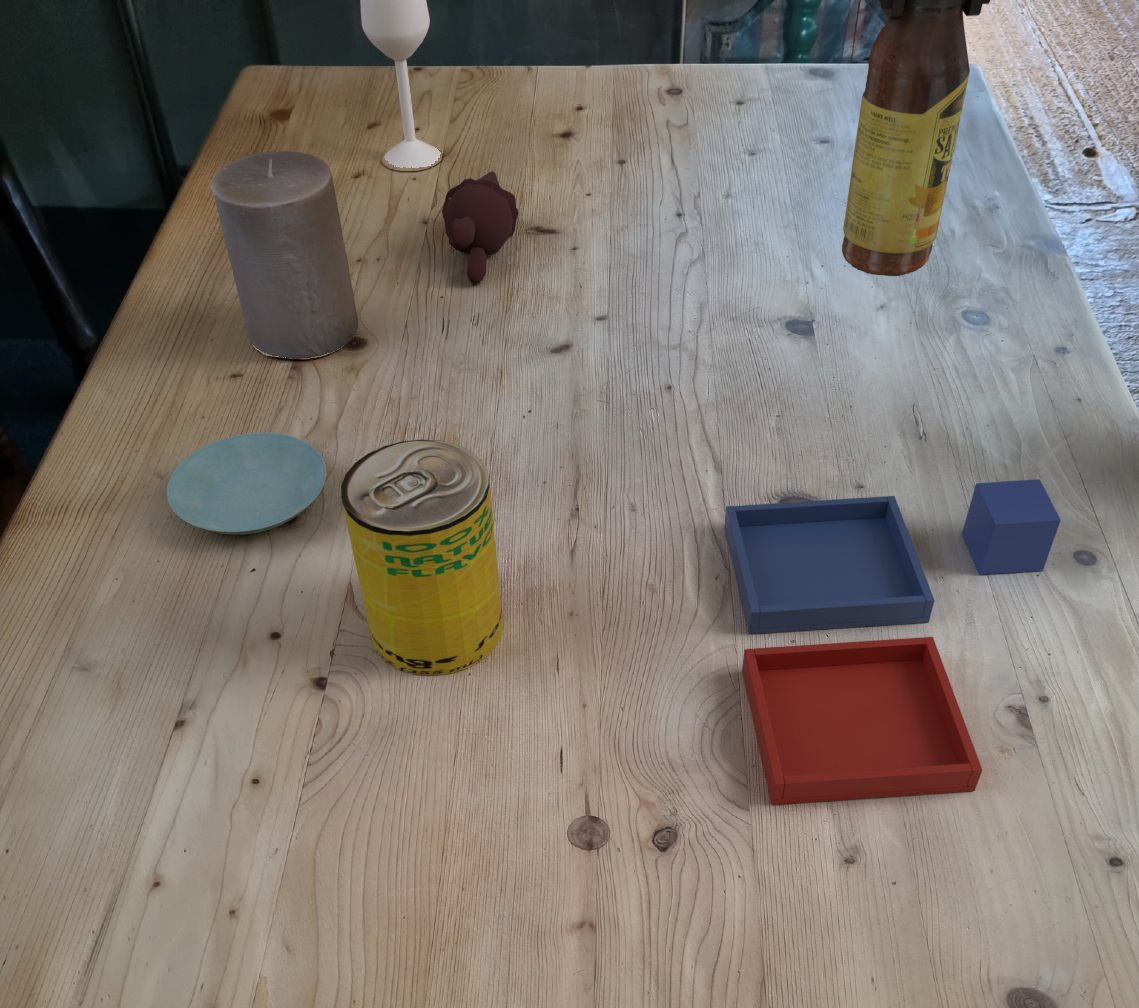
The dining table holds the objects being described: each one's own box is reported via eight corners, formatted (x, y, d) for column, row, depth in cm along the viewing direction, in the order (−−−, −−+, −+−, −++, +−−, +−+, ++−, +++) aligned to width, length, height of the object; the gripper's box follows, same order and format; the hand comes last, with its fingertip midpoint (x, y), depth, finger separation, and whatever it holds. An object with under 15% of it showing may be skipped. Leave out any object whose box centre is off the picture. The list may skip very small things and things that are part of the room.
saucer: (326, 548, 88) (321, 523, 87) (163, 559, 88) (154, 534, 86) (335, 452, 96) (330, 427, 94) (185, 461, 96) (177, 437, 94)
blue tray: (889, 517, 89) (894, 495, 87) (929, 622, 82) (935, 600, 80) (724, 528, 89) (726, 505, 87) (748, 634, 81) (751, 612, 80)
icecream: (444, 146, 117) (413, 235, 108) (516, 129, 114) (490, 218, 106) (469, 213, 122) (441, 303, 113) (539, 198, 120) (515, 288, 111)
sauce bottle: (930, 285, 81) (1003, -60, 66) (835, 278, 82) (887, -64, 67) (931, 238, 85) (1000, -97, 70) (841, 231, 86) (890, -100, 71)
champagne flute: (451, 146, 131) (425, -120, 113) (433, 174, 127) (402, -98, 109) (392, 142, 132) (357, -123, 114) (372, 169, 128) (332, -101, 110)
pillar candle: (329, 293, 112) (297, 123, 100) (378, 339, 106) (350, 165, 95) (231, 326, 109) (186, 154, 97) (276, 375, 103) (234, 199, 92)
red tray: (926, 658, 79) (933, 636, 78) (975, 791, 72) (982, 769, 71) (741, 670, 79) (744, 648, 78) (771, 805, 72) (774, 784, 70)
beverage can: (530, 625, 82) (520, 480, 73) (430, 696, 78) (406, 552, 69) (443, 566, 87) (422, 422, 78) (344, 630, 83) (310, 486, 74)
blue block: (1023, 530, 88) (1040, 478, 84) (1043, 571, 85) (1061, 519, 81) (961, 533, 87) (975, 482, 84) (979, 575, 85) (994, 524, 81)
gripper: (869, -359, 57) (823, 44, 70) (1173, -375, 57) (1069, 30, 70) (838, -384, 61) (800, -3, 75) (1118, -399, 62) (1031, -15, 75)
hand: (931, 11), depth 72 cm, fingers closed on sauce bottle, 4 cm apart
